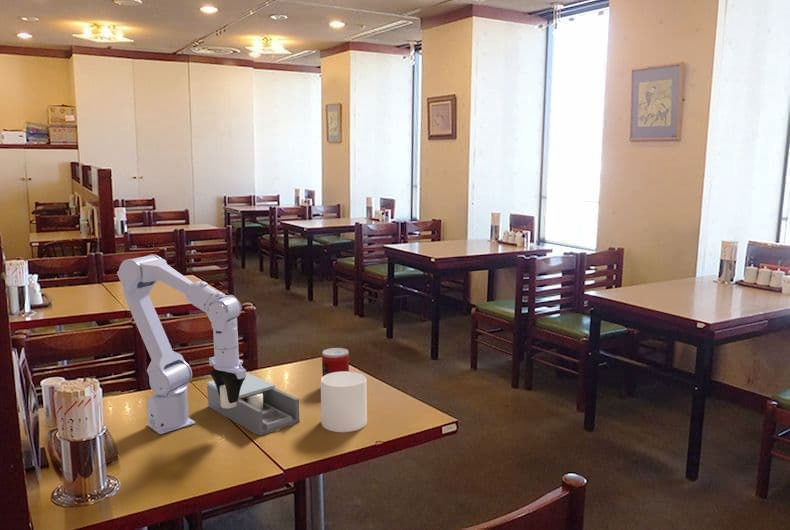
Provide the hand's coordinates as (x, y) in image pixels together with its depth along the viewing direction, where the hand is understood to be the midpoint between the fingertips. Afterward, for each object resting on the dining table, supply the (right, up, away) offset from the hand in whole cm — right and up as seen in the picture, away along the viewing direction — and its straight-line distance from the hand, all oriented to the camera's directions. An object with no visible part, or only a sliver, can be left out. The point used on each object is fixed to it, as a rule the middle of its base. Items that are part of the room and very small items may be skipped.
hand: (228, 399), depth 156 cm
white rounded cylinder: (0, -2, 0) cm, 2 cm away
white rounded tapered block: (+4, -7, +12) cm, 15 cm away
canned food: (+23, -4, +34) cm, 41 cm away
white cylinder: (+28, -8, +8) cm, 30 cm away
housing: (+3, -7, +13) cm, 15 cm away
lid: (-1, 0, +17) cm, 17 cm away
